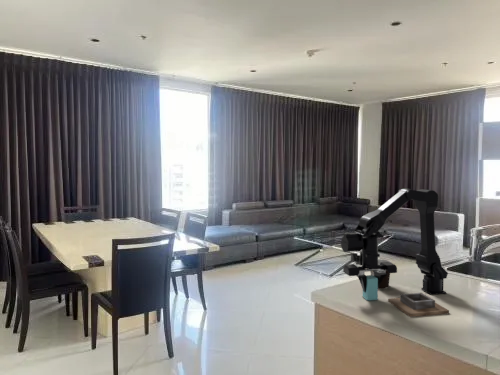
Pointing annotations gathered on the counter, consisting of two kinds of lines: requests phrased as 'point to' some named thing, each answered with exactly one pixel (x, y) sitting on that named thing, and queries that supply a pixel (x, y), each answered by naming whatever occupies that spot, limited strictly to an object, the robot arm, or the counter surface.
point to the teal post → (371, 288)
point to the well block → (417, 305)
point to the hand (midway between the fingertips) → (370, 291)
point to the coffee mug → (386, 279)
